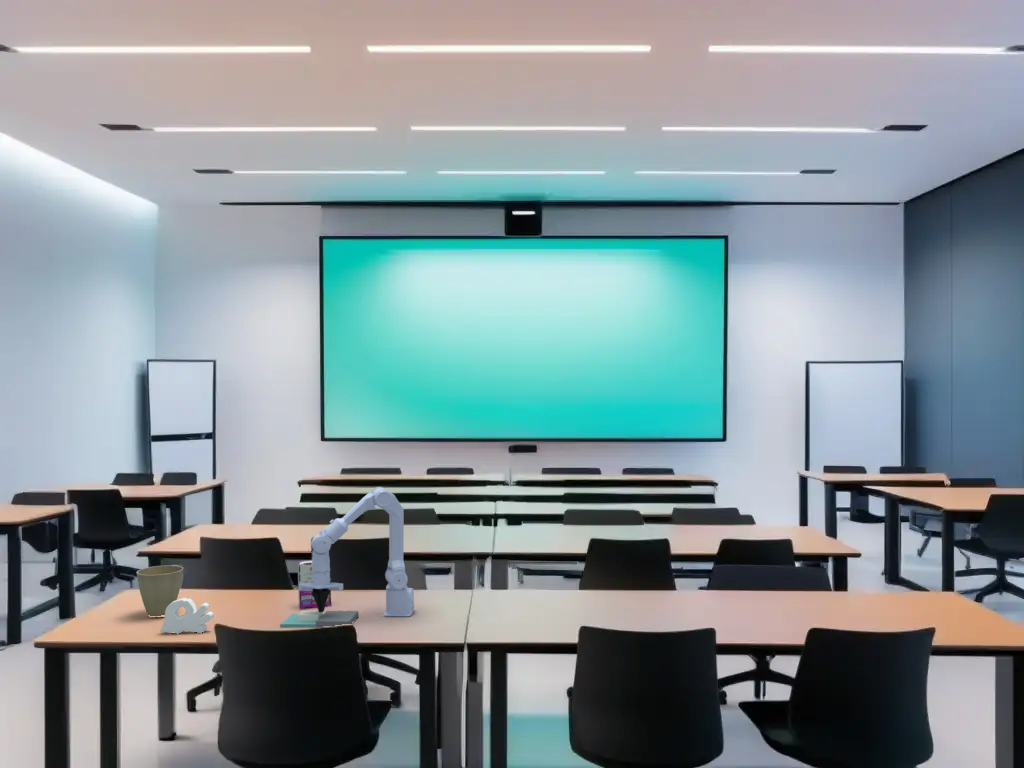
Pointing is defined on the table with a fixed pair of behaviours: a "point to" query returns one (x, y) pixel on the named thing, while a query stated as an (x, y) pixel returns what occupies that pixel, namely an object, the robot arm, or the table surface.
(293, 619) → the mat
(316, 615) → the tile
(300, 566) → the candy bar box
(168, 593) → the plant pot
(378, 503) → the robot arm
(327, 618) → the plate
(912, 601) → the table surface
